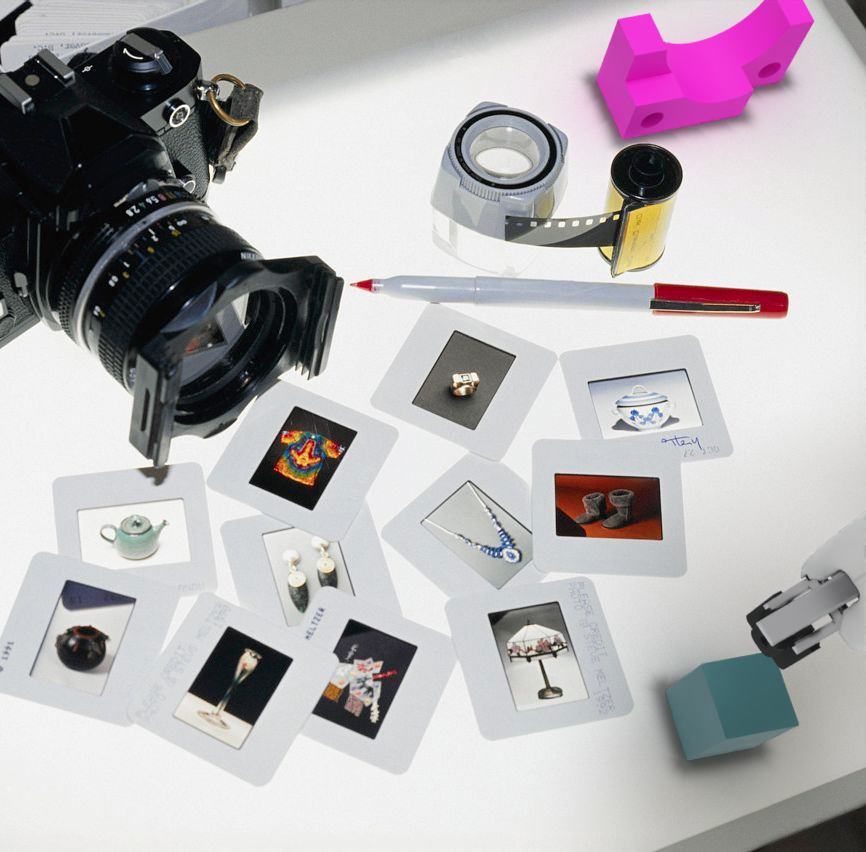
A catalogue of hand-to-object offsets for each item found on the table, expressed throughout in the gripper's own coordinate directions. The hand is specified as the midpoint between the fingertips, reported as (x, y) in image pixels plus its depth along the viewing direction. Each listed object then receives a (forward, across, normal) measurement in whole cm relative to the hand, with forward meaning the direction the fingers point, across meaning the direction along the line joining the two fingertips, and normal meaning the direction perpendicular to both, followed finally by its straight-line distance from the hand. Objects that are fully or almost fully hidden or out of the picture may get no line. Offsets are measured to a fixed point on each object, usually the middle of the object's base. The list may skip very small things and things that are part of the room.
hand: (842, 599), depth 64 cm
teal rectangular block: (+19, -2, -2) cm, 19 cm away
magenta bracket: (+19, +27, +41) cm, 53 cm away
